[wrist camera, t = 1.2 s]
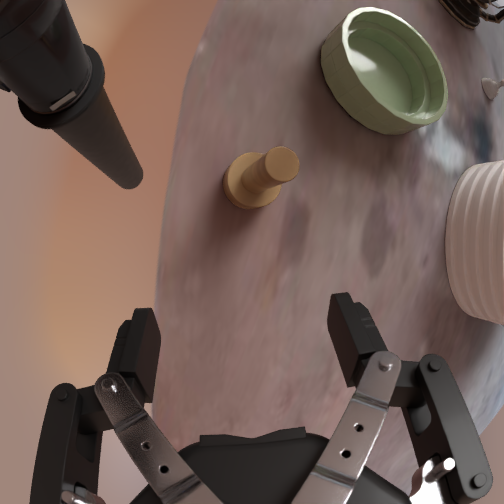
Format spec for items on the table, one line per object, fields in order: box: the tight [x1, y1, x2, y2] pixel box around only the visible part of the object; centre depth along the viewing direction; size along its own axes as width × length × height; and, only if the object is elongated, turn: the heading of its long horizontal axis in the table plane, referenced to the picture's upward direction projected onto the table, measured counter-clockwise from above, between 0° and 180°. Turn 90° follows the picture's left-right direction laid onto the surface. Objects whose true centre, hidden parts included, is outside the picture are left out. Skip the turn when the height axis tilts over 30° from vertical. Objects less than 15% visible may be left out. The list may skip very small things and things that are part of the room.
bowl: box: [321, 7, 448, 135], centre depth 34 cm, size 18×18×6 cm
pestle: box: [223, 146, 299, 209], centre depth 28 cm, size 6×6×11 cm
